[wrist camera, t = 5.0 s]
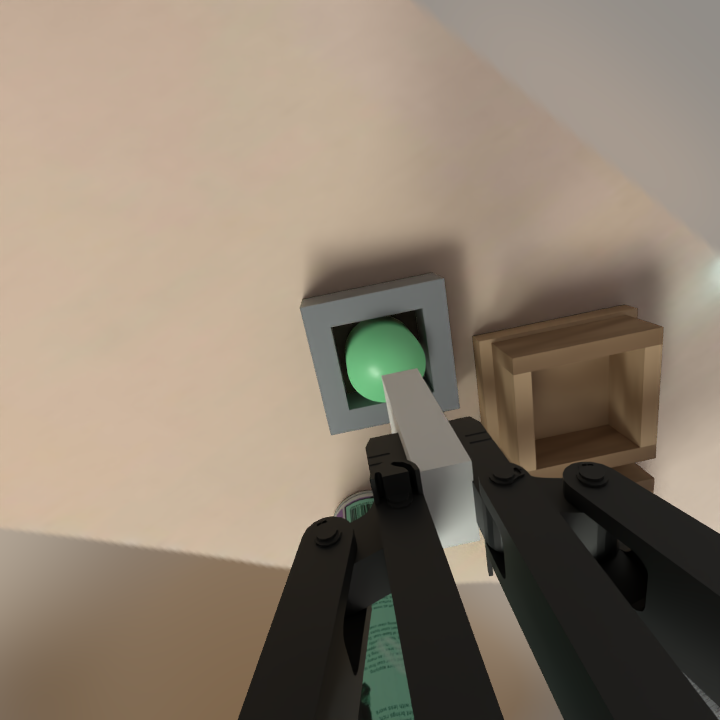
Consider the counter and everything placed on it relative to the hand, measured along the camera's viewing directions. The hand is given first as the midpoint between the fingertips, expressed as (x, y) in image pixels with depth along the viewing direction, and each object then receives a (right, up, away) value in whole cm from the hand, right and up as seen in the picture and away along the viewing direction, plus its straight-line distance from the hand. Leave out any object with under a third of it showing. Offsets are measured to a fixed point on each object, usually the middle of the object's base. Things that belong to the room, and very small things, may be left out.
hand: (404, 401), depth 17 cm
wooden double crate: (+12, -5, +12) cm, 18 cm away
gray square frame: (-1, +2, +9) cm, 9 cm away
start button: (-1, +2, +9) cm, 9 cm away
